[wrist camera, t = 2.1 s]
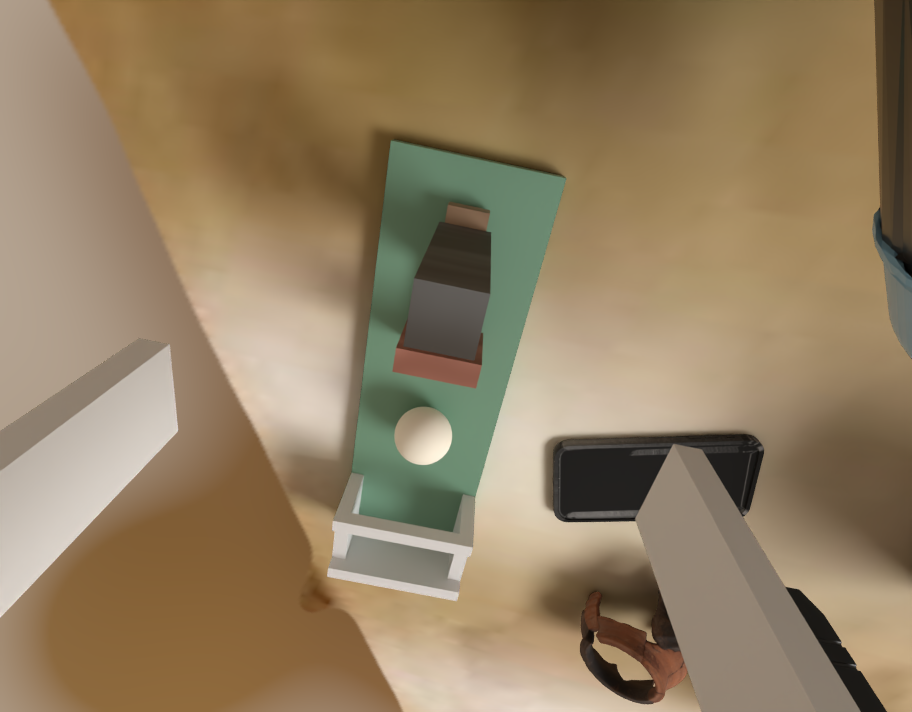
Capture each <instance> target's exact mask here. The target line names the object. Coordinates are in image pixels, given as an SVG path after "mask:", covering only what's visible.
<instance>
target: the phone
mask: <svg viewBox="0 0 912 712" xmlns="http://www.w3.org/2000/svg"><path fill="white" fill-rule="evenodd" d="M673 444H677V445H682V446H687V447H692V448H697V449H702V451H703V452H704V454H705V456H706V457H707V459H708V461H709V462H710V464H711V465H712V467H713V469H714V470H715V472H716V474H717V475H718V477H719V479H720V480H721V482H722V484H723V485H724V487H725V489H726V490H727V492H728V494H729V495H730V497H731V498H732V500H733V502H734V503H735V505H736V507H737V508H738V510H739V512H740V513H741V515H742V517H743V516H745V515H746V514H747V513H748V512H749V510H750V506H751V502H752V499H753V495H754V491H755V487H756V483H757V479H758V475H759V471H760V467H761V463H762V459H763V455H764V448H763V446H762V444H761V443H760V442H759V440H758V439H757V438H756V437H754V436H752V435H746V434H743V435H710V436H677V437H644V438H611V439H579V440H564V441H562V442H560V443H558V444H557V445H556V446H555V448H554V451H553V507H554V513H555V516H556V517H557V518H558V519H559V520H561V521H564V522H615V521H636V520H635V518H636V516H637V514H638V512H639V510H640V508H641V507H642V505H643V503H644V501H645V499H646V497H647V495H648V493H649V491H650V489H651V487H652V485H653V483H654V481H655V479H656V477H657V475H658V473H659V471H660V469H661V467H662V465H663V463H664V461H665V459H666V457H667V455H668V453H669V452H670V450H671V448H672V446H673Z"/></svg>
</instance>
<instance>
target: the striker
mask: <svg viewBox="0 0 912 712" xmlns="http://www.w3.org/2000/svg"><path fill="white" fill-rule="evenodd" d="M489 216H490V210H487V209H482V208H478V207H473V206H468V205H463V204H459V203H454V202H449V203H448V207H447V213H446V218H445V223H444V222H439V224H438V226H437V228H436V230H435V233H434V235H433V237H432V239H431V242H430V244H429V246H428V248H427V251H426V253H425V255H424V257H423V259H422V262H421V264H420V266H419V268H418V271H417V273H416V275H415V277H414V282H413V288H412V294H411V301H410V307H409V313H408V319H407V321H406V324H405V326H404V329H403V331H402V334H401V336H400V339H399V341H398V344H397V346H396V351H395V357H394V364H393V370H392V372H396V373H401V374H406V375H411V376H416V377H421V378H426V379H431V380H436V381H440V382H445V383H450V384H455V385H460V386H465V387H470V388H475V389H476V387H477V383H478V379H479V375H480V371H481V367H482V352H483V333H481V331H482V327H483V323H484V319H485V314H486V310H487V306H488V302H489V298H490V289H491V232H487V231H486V230H487V225H488V221H489Z"/></svg>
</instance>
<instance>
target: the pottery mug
mask: <svg viewBox="0 0 912 712" xmlns="http://www.w3.org/2000/svg"><path fill="white" fill-rule="evenodd" d="M658 594H659V599H658V607H657V609H656V614H655V615H654V617H653V619H652V636H653V639H654V640H655V641H656V642H657V644H655V643H651V642H649V641H647V640H646V636H647V633H646V632H644V631H642V630H639V629H636V628H634V627H632V626H630V625H628V624H625V623H619V622H617V621H615V620H613V619H610V618H607V617H602V616H600V611H599V606H600V601H601V598H602V595H601V594H600V592H595V593H592V594H591V595H590V596H589V599H588V601H587V602H586V608H585V610H583V611H582V616H581V632H582V637H583V639H582V641H581V643H580V653H581V656H582V658H583V661H584V662H585V664H586V666H587V667H588V669H589V671H590V672H591V673H592V674H593V675H594V676H595V677H596V678H597V679H598V680H599V681H600V682H601V683H602V684H603V685H604V686H605V687H607V688H608V689H610V690H611V691H613V692H614V693H615V694H617V695H619V696H621V697H623V698H625V699H627V700H630V701H632V702H636V703H640V704H653V703H656V702H659V701H661V700H662V699H663V697H664V695H665V691H666V690H667V689H670V688H672V687H675V686H676V685H677V684H678V683H680V682H681V681H682V680H683V679H684V678H685V676H686V674H687V672H688V671H687V668H686V665H685V662H684V659H683V656H682V653H681V650H680V647H679V644H678V642H677V639H676V636H675V633H674V630H673V627H672V624H671V621H670V618H669V615H668V613H667V610H666V607H665V604H664V601H663V598H662V595H661V592H660V589H659V591H658ZM597 631H598V632H597ZM594 632H597V634H596V637H597V638H598V640H599V642H600V643H603V644H607V645H611V646H614V647H617V648H619V649H620V650H622V651H624V652H626V653H627V654H629V655H630V656H632V657H633V658H635V659H636V660H637V661H639V662H640V663H641V664H642V665H643V666H644V667H645V668H646V670H647V671H648V672H649V674H650V675H651V677H652V678H653V680H629V681H625V680H623V679H622V677H621V676H620V674H619V672H618V670H617V665H616V664H611V663H608V662H607V661H605V660H604V659H603V658H602V657H601V656H600V655H599V653H598V652H597V651H596V650H595V649H594V648H593V647H592V644H593V642H594ZM654 683H655V687H653V685H654Z"/></svg>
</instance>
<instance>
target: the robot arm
mask: <svg viewBox="0 0 912 712" xmlns="http://www.w3.org/2000/svg"><path fill="white" fill-rule="evenodd" d="M874 6H875V41H876V76H877V111H878V146H879V181H880V208H879V210H878V211H877V212H876V213H875V214H874V219H873V228H872V230H873V237H874V242H875V246H876V249H877V251H878V253H879V255H880V257H881V259H882V261H883V263H884V272H885V281H886V291H887V300H888V309H889V316H890V320H891V324H892V327H893V330H894V332H895V334H896V336H897V338H898V340H899V342H900V344H901V345H902V347H903V348H904V350H905V351H906V352H907V354H908V355H909V356H910V358H911V359H912V0H874ZM177 425H178V424H177V415H176V404H175V395H174V384H173V374H172V364H171V354H170V345H169V344H165V343H161V342H156V341H151V340H146V339H141V338H139V339H137V340H136V341H134V342H133V343H131V344H130V345H128V346H127V347H125V348H124V349H122V350H121V351H119V352H118V353H116V354H115V355H113V356H112V357H111V358H109V359H107V360H106V361H104V362H103V363H101V364H100V365H98V366H97V367H95V368H94V369H92V370H91V371H89V372H88V373H86V374H85V375H83V376H82V377H80V378H79V379H77V380H76V381H74V382H73V383H71V384H70V385H68V386H67V387H65V388H64V389H62V390H61V391H60V392H58V393H56V394H55V395H53V396H52V397H50V398H49V399H47V400H46V401H44V402H43V403H42V404H40V405H38V406H37V407H36V408H34V409H32V410H31V411H29V412H28V413H26V414H25V415H23V416H22V417H21V418H19V419H18V420H16V421H14V422H13V423H11V424H10V425H8V426H7V427H6V428H4V429H2V430H1V431H0V617H1V616H2V615H3V614H4V613H5V612H6V611H7V610H8V609H9V608H10V607H11V606H12V605H13V604H14V603H15V601H16V600H17V599H18V598H19V597H20V596H21V595H22V594H23V593H24V592H25V591H26V590H27V589H28V588H29V587H30V586H31V585H32V584H33V583H34V582H35V580H36V579H37V578H38V577H39V576H40V575H41V574H42V573H43V572H44V571H45V570H46V569H47V568H48V567H49V566H50V565H51V564H52V563H53V562H54V561H55V560H56V558H57V557H58V556H59V555H60V554H61V553H62V552H63V551H64V550H65V549H66V548H67V547H68V546H69V545H70V544H71V543H72V542H73V541H74V540H75V539H76V538H77V537H78V535H79V534H80V533H81V532H82V531H83V530H84V529H85V528H86V527H87V526H88V525H89V524H90V523H91V522H92V521H93V520H94V519H95V518H96V517H97V515H99V513H100V512H101V511H102V510H103V509H104V508H105V507H106V506H107V505H108V504H109V503H110V502H111V501H112V500H113V499H114V498H115V497H116V496H117V495H118V494H119V493H120V491H121V490H122V489H123V488H124V487H125V486H126V485H127V484H128V483H129V482H130V481H131V480H132V479H133V478H134V477H135V476H136V474H138V473H139V472H140V471H141V469H142V468H143V467H144V466H145V465H146V464H147V463H148V462H149V461H150V460H151V459H152V458H153V457H154V456H155V455H156V454H157V453H158V452H159V451H160V449H162V447H163V446H164V445H165V444H166V443H167V442H168V441H169V440H170V439H171V438H172V437H173V436H174V435H175V434H176V433H177V432H178V426H177ZM635 520H636V523H637V526H638V529H639V531H640V534H641V537H642V540H643V543H644V546H645V549H646V552H647V555H648V558H649V560H650V563H651V566H652V569H653V572H654V575H655V578H656V581H657V584H658V587H659V589H660V592H661V595H662V598H663V601H664V604H665V607H666V610H667V613H668V615H669V618H670V621H671V624H672V627H673V630H674V633H675V636H676V639H677V642H678V644H679V647H680V650H681V653H682V656H683V659H684V662H685V665H686V668H687V671H688V673H689V676H690V679H691V682H692V685H693V688H694V691H695V694H696V697H697V700H698V702H699V705H700V708H701V711H702V712H887V711H886V710H885V708H884V707H883V705H882V704H881V702H880V700H879V699H878V697H877V696H876V694H875V693H874V691H873V690H872V688H871V687H870V685H869V683H868V682H867V680H866V679H865V677H864V676H863V674H862V673H861V671H858V670H857V669H856V663H855V662H854V660H853V659H852V657H851V656H850V654H849V653H848V651H847V650H846V648H844V647H842V646H841V643H842V642H841V640H840V639H839V637H838V636H837V634H836V633H835V631H834V630H833V628H832V626H831V625H830V623H829V622H828V620H827V619H826V617H825V616H824V614H823V613H822V612H821V611H820V610H819V609H818V608H817V607H816V606H815V605H814V604H813V603H812V602H811V601H810V600H809V599H808V598H807V597H806V596H805V595H804V594H803V593H802V592H801V591H800V590H798V589H793V588H788V587H785V586H784V584H783V583H782V581H781V579H780V578H779V576H778V574H777V573H776V571H775V569H774V568H773V566H772V564H771V563H770V561H769V560H768V558H767V556H766V555H765V553H764V551H763V550H762V548H761V546H760V545H759V543H758V541H757V540H756V538H755V536H754V535H753V533H752V531H751V530H750V528H749V527H748V525H747V523H746V522H745V520H744V518H743V517H742V515H741V513H740V512H739V510H738V508H737V507H736V505H735V503H734V502H733V500H732V498H731V497H730V495H729V494H728V492H727V490H726V489H725V487H724V485H723V484H722V482H721V480H720V479H719V477H718V475H717V474H716V472H715V470H714V469H713V467H712V465H711V464H710V462H709V461H708V459H707V457H706V456H705V454H704V452H703V451H702V449H697V448H692V447H687V446H682V445H677V444H673V446H672V448H671V450H670V452H669V453H668V455H667V457H666V459H665V461H664V463H663V465H662V467H661V469H660V471H659V473H658V475H657V477H656V479H655V481H654V483H653V485H652V487H651V489H650V491H649V493H648V495H647V497H646V499H645V501H644V503H643V505H642V507H641V508H640V510H639V512H638V514H637V516H636V518H635Z"/></svg>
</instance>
